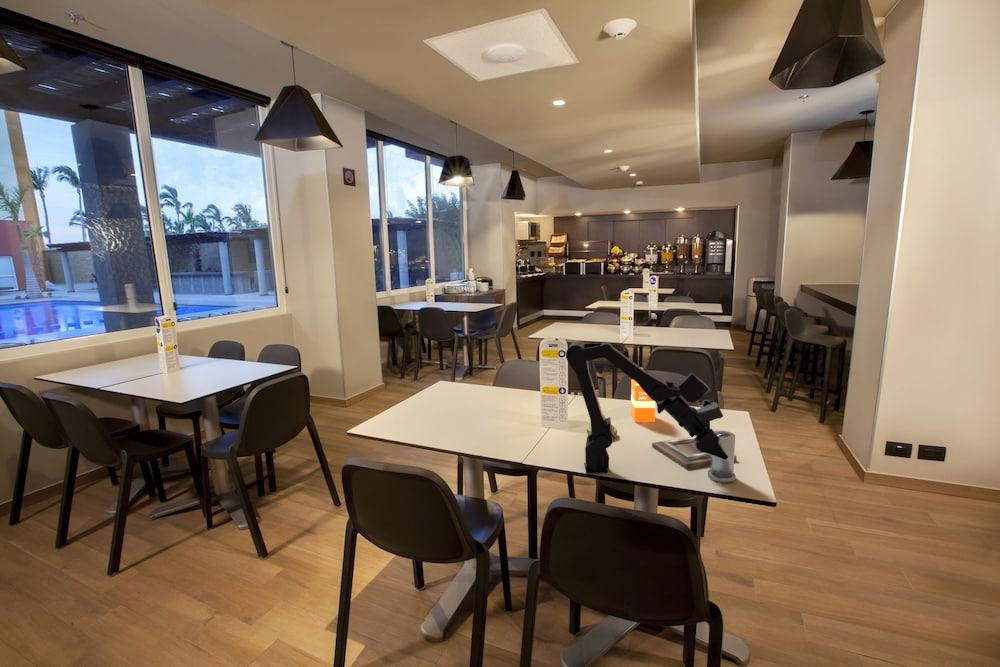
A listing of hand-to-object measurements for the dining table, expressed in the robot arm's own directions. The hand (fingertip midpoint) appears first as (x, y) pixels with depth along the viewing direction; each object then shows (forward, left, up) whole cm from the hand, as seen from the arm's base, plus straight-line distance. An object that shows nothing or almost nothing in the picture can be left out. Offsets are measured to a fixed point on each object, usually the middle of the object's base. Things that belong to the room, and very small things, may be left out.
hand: (723, 451), depth 136 cm
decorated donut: (-30, +33, -8) cm, 45 cm away
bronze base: (-3, +17, -8) cm, 19 cm away
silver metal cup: (0, 0, -8) cm, 8 cm away
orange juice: (-12, +51, -8) cm, 53 cm away
